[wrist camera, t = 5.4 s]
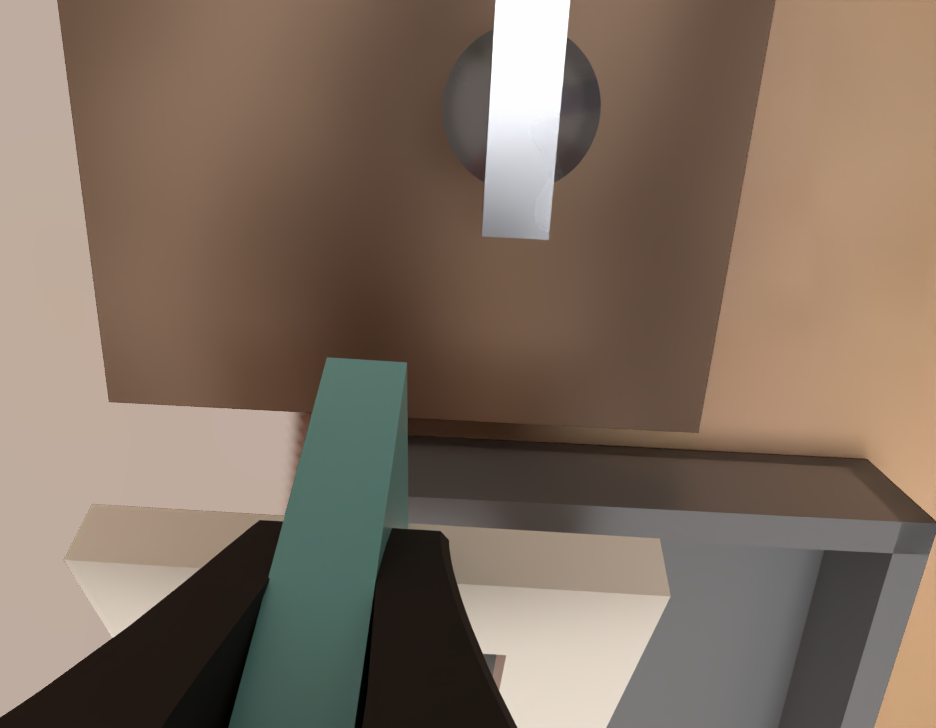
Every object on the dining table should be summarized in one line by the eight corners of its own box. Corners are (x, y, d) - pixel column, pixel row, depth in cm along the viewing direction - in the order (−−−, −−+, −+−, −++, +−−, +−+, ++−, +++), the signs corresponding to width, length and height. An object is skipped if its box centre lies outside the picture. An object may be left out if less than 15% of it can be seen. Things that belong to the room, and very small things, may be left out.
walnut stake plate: (783, -150, 14) (805, -168, 13) (686, 415, 18) (698, 432, 17) (60, -192, 14) (29, -214, 13) (128, 386, 18) (109, 402, 17)
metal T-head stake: (577, 15, 14) (626, -28, 9) (560, 202, 15) (595, 242, 11) (455, 8, 14) (445, -39, 9) (447, 196, 15) (435, 234, 11)
